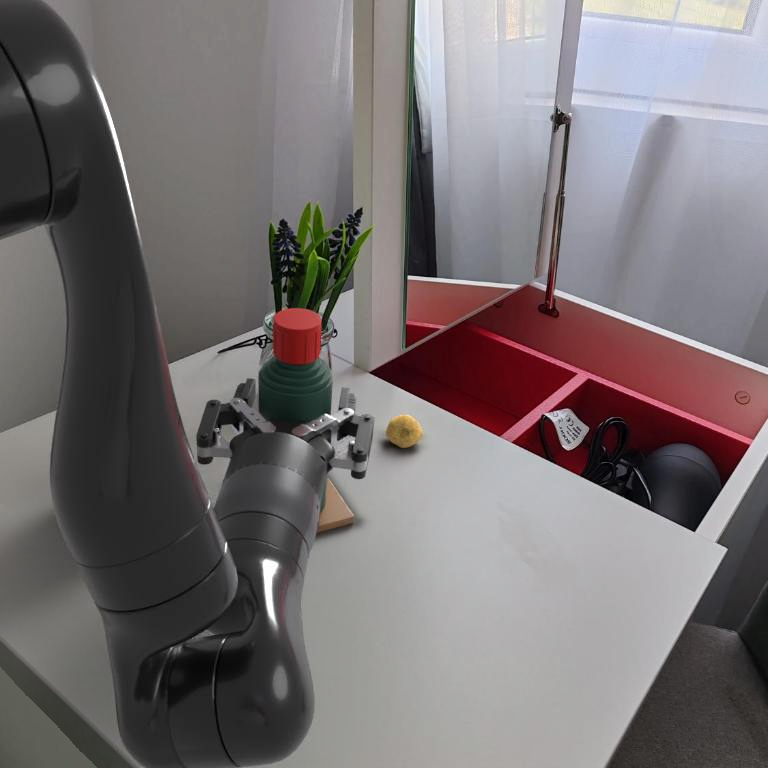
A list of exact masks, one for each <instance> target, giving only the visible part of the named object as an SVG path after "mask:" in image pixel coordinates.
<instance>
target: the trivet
mask: <svg viewBox="0 0 768 768" xmlns="http://www.w3.org/2000/svg"><path fill="white" fill-rule="evenodd" d="M354 523H355V515H354V514H353V512H352V510H351V509H350V507H349V506H348V505H347V503H346V502H345V500H344V499H343V497H342V496H341V494H340V493H339V491H338V490H337V488H336V486H335V485H334V484H333V483H332V481H331V480H330V478H329V477H328V476H327V489H326V504H325V507H324V509H323V510H322V512H321V513H320V514H319V527H318V530H317V533H321V532H324V531H329V530H332V529H336V528H340V527H343V526H347V525H351V524H354ZM317 533H316V534H317Z"/></svg>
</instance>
